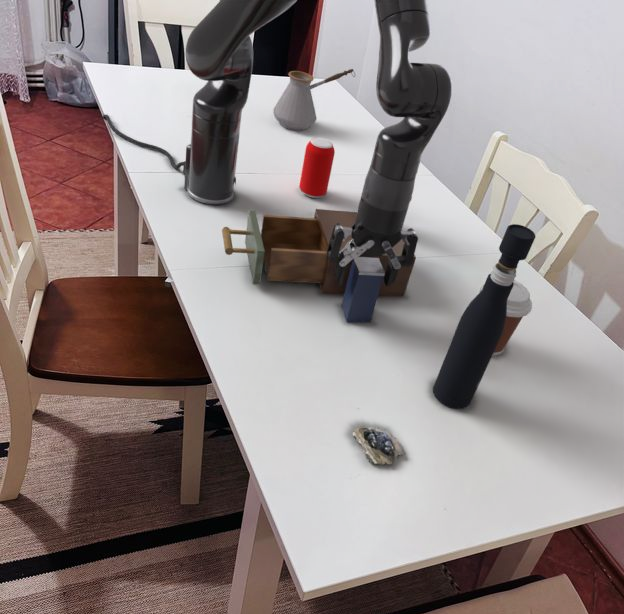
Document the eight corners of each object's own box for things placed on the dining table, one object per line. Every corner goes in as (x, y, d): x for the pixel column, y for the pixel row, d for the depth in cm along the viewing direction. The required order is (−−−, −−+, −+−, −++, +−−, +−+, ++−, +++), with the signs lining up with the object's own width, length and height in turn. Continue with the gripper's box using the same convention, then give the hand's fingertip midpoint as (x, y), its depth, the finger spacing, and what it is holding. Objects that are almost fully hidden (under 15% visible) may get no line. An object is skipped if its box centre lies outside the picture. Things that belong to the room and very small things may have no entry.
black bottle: (429, 378, 106) (492, 215, 87) (466, 382, 107) (537, 222, 89) (436, 407, 101) (504, 240, 83) (475, 411, 103) (551, 248, 84)
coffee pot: (282, 134, 168) (291, 74, 159) (264, 115, 175) (272, 57, 166) (353, 133, 178) (366, 77, 169) (334, 115, 185) (344, 61, 176)
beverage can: (320, 203, 144) (330, 151, 137) (294, 193, 145) (302, 141, 137) (329, 192, 149) (340, 142, 141) (304, 183, 150) (313, 133, 142)
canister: (340, 306, 116) (353, 256, 110) (364, 306, 118) (378, 257, 111) (346, 322, 113) (359, 271, 107) (370, 322, 115) (385, 273, 108)
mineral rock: (380, 475, 89) (384, 466, 88) (338, 439, 92) (341, 430, 91) (410, 451, 93) (414, 442, 92) (369, 418, 97) (372, 409, 95)
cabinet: (321, 293, 118) (331, 252, 113) (307, 248, 129) (315, 208, 123) (403, 296, 123) (416, 257, 117) (383, 252, 134) (394, 214, 128)
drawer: (224, 283, 113) (228, 249, 108) (218, 240, 123) (221, 207, 118) (333, 287, 119) (341, 255, 114) (319, 246, 128) (326, 215, 124)
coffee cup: (459, 323, 120) (480, 268, 113) (506, 332, 121) (531, 279, 113) (463, 355, 113) (487, 299, 106) (514, 364, 114) (541, 310, 106)
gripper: (421, 189, 106) (396, 272, 116) (336, 181, 102) (318, 268, 112) (435, 212, 101) (408, 297, 111) (347, 205, 96) (326, 294, 107)
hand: (363, 282), depth 111 cm, fingers open, 8 cm apart
